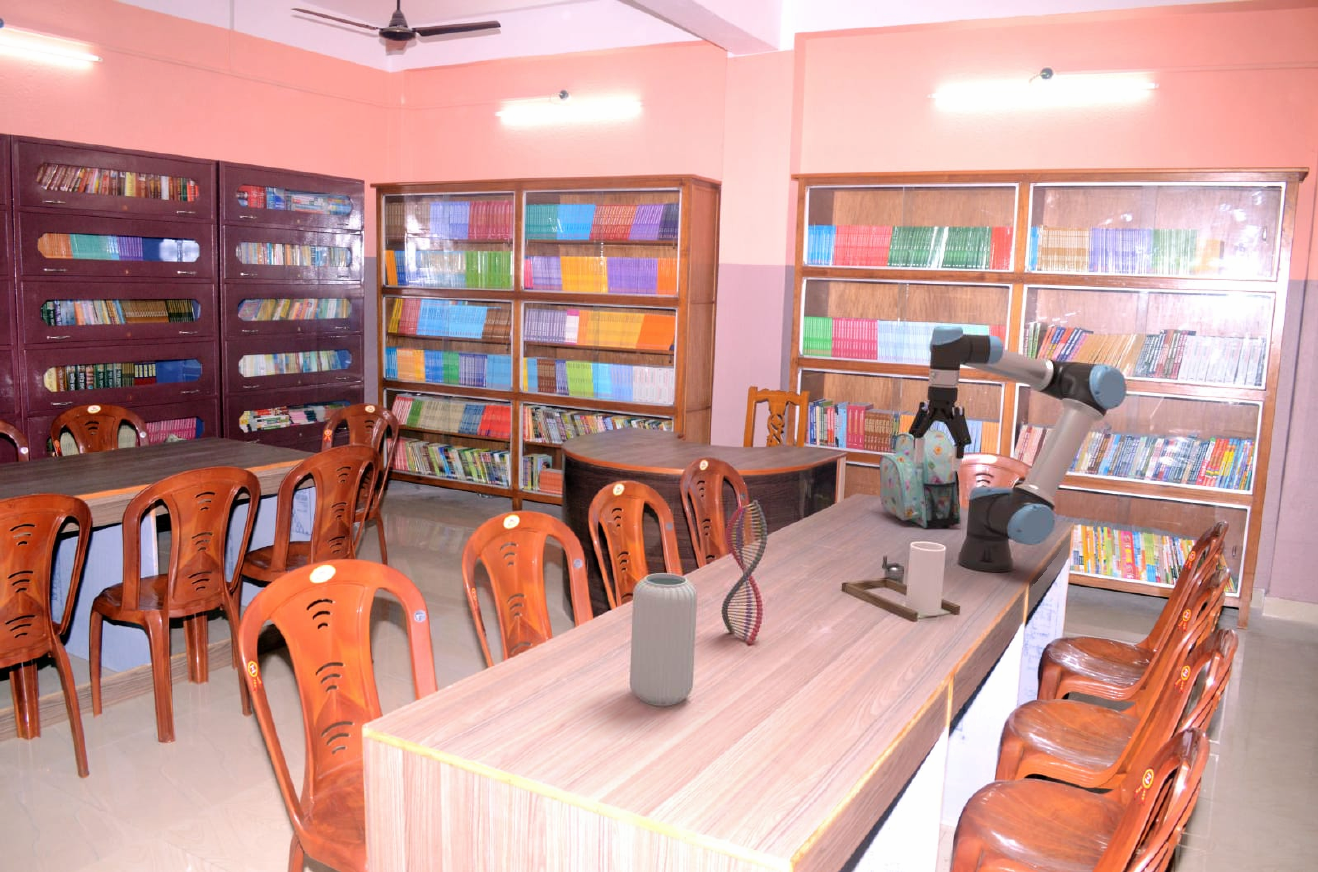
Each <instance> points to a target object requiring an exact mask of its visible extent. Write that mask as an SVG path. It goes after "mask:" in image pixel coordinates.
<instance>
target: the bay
mask: <svg viewBox="0 0 1318 872" xmlns="http://www.w3.org/2000/svg"><path fill="white" fill-rule="evenodd" d="M879 588H880V589H881V588H888V589H891V590H893V591H896V592H897V593H900V594H902V595H905V596H906V594H907V584H905V583H904V582H903V583H900V582H898V581H895V580H889V579H886V578H884V577H879V578H878V577H877V578H872V579H864V580H854V581H847V582H842V583H841V591H842V592H845V593H846V594H849V595H851V596H853V597H855V598H858V599H861V600H863V601H865V602H867V603H870V604H871V605H873V606H876V607H878V608H881V609H883V610H885V611H888V612H890V613H892V614H894V615H897V616H899V617H901V618H904V619H906V620H908V621H910V622H917V621H918V620H919V619H925V618H926V619H927V618H931V617H938V616H945V615H950V614H951V615H954V616H956V615H960V612H961V610H960V609H961V606H960V605H958V604H955V603H953V602H951V601H948V600H946V599H944V598H942V602H941V613H940V614H938V615H934V616H925V615H918V612H916V611H913V610H911V609H909V608H906V606H905V605H904V606H903V605H902V604H899V603H896V602H895V601H892V600H889V599H887V598H884V597H882V596H880V595H877V594H876V593H873V592H870V591H868V590H871V589H879Z"/></svg>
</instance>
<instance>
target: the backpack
mask: <svg viewBox="0 0 1318 872" xmlns="http://www.w3.org/2000/svg"><path fill="white" fill-rule="evenodd" d="M921 438H925V445H924V458H923V462H919V463H915V462H914V451H915V449H914V437H913V435H911V434H909V432H901V433H899V434H897V436H896V437H895V440H894V446H893V447H894V448H893V449H894V451H893V452H894V453H893V454H891V453H890V454H883V455H881V457H880V458H879V478H880V496H879V497H880V502H881V506H882V508H883V509H884V510H885V511H886V512H888V513H890V514H892V515H894V516H896V517H897V518H899V519H900V520H902V521H907V520H908V521H910V522H913V523H915V524H917V525H919V526H921V527H922V528H924V529H926V528H927V529H928V528H932V529H933V528H940V529H941V528H942V529H948V528H950V527H953V526H955V525H959V524H961V522H962V519H961V518H962V517H961V512H960V509H961V507H960V505H961V503H960V482H959V481H960V480H959V474H958V471H951V464H952V452H953V446H954V445H953V444H952V442H951V440H950V438H949V436H948V435H947V434H946V433H945V432H944V431H942V430H937V429H932V430H927V432H926V433H925V434H924V436H923V437H921Z"/></svg>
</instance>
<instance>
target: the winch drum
mask: <svg viewBox="0 0 1318 872" xmlns="http://www.w3.org/2000/svg"><path fill="white" fill-rule="evenodd" d="M882 556H883V557H882V564H881V568H882V569H884V574H883V578H886V579H889V580H895V581H898V582H900V583H903V584H904V578H905V577H904V575H905V566H903V565H900V563H899V562H893V563H888V555H882Z"/></svg>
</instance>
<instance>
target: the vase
mask: <svg viewBox="0 0 1318 872" xmlns="http://www.w3.org/2000/svg"><path fill="white" fill-rule="evenodd" d="M697 608H698V592H697V589H696V587H695V585H694V584H693V582H691V581H690V580H688V579H687V577H685V576H683V575H680V574H675V573H668V572H667V573H666V572H662V573H661V572H660V573H659V572H657V573H651V574H648V575H645V577H643V578H641V580H639V581H638V582H637V583H636V584H635V586H634V588H633V593H632V617H631V620H632V621H631V641H630V642H631V643H630V665H629V668H630V669H629V686H630V689H631V691H632V693H633V694H634V695H635V696H636V698H638V699H639V700H640V701H642V702H644V703H646V704H647V705H652V706H658V707H661V706H662V707H664V706H665V707H666V706H672V705H676V704H679V703H680V702H681V701H683V700H685V699H686V698H687V697H688V696H689V695H690V694H691V692H692V689H693V687H694V671H695V670H694V669H695V653H696V652H695V649H696V629H697V628H696V627H697V612H698V610H697Z"/></svg>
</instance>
